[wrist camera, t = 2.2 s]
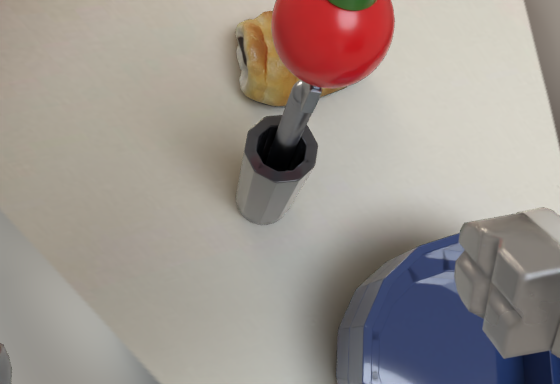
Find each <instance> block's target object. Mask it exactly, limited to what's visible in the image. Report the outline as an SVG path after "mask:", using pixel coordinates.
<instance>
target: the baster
mask: <svg viewBox="0 0 560 384" xmlns="http://www.w3.org/2000/svg"><path fill="white" fill-rule="evenodd" d="M394 22H395V18H394V10H393V5H392V2H391V0H276V2H275V5H274V9H273V13H272V20H271V32H272V39H273V43H274V47H275V50H276V52H277V54H278V56H279V58H280V60H281V61H282V63H283V64H284V66H285V67H286V68H287V69H288V70H289V71H290V72H291V73H292V74H293V75H294V76H295V77H297V78H298V79H300V80H299V81H297V82H296V83H295V84H294V85H293V87H292V90H291V92H290V95H289V98H288V101H287V104H286V107H285V110H284V112H283V115H282V118H281V121H280V124H279V127H278V130H277V132H276V135H275V138H274V141H273V144H272V147H271V150H270V152H269V155H268V158H267V161H266V164H265V165H266V166H268V167H270V168H272V169H274V170H276V171H278V172H280V171H286V168H287V166H288V164H289V162H290V160H291V158H292V155H293V153H294V151H295V149H296V147H297V144H298V142H299V140H300V138H301V136H302V133H303V131H304V129H305V127H306V125H307V122H308V120H309V118H310V116H311V114H312V113H313V111H314V109H315V106H316V104H317V102H318V100H319V98H320V96H321V93H322V88H329V89H333V88H342V87H346V86H349V85H353V84H355V83H357V82H359V81H361V80H362V79H364V78H366V77H367V76H368V75H370V74H371V73H372V72H373V71H374V70H375V69H376V68H377V67H378V66H379V64H380V63H381V62H382V60H383V59H384V57H385V56H386V54H387V52H388V50H389V47H390V45H391V42H392V38H393V33H394Z"/></svg>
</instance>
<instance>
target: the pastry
mask: <svg viewBox="0 0 560 384" xmlns="http://www.w3.org/2000/svg"><path fill="white" fill-rule="evenodd" d="M272 13H273V11H268V12H264V13H262V14H261V15H260V16H258V17H257V18H255V19H253V20H252V19H248V20H246V21H244V22H241V23H239V24H238V25H237V28H236V31H235V33H236V38H237V41H238V47H237V52H236V53H237V59H238V62H239V66H240V69H241V71H242V73H241V75H240V79H239V82H240V86H241V91H242V92H243V93H244V94H245V96H247V97H248V98H250V99H253V100H255V101H258V102H262V103H265V104H268V105H271V106H286V104H287V101H288V98H289V95H290V92H291V90H292V87H293V85H294V84H295V83H296V82H297V81H299V80H300V79H298V78H297V77H295V76H294V75H293V74H292V73H291V72H290V71H289V70H288V69H287V68H286V67H285V66H284V64H283V63H282V61H281V60H280V58H279V56H278V54H277V52H276V50H275V47H274V43H273V39H272V32H271V20H272ZM346 87H347V86H346ZM343 88H345V87H342V88H333V89H329V88H322V93H321V96H320V97H322V96H325V95H327V94H330V93H333V92H335V91H338V90H341V89H343Z"/></svg>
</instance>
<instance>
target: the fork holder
mask: <svg viewBox="0 0 560 384" xmlns="http://www.w3.org/2000/svg"><path fill="white" fill-rule="evenodd" d="M281 118H282V115H278V116H266V117H264V118H263V119H261V120H260V121H259V122H258V123H257V124H256V125H254V126H253V127H252V128H251V129H250V130H249V131H248V134H247V139H246V144H245V150H244V155H243V160H242V166H241V171H240V177H239V182H238V187H237V193H236V203H237V207H238V209H239V211H240V213H241V214H242V215H243V216H244V217H245V218H246V219H247V220H249V221H250V222H252V223H255V224H259V225H268V224H272V223H275V222H277V221H278V220H280V219H281V218H282V217H283V216H284V215H285V213H286V212H287V211H288V210H289V209H290V207H291V205H292V204H293V202H294V200H295V199H296V197H297V195H298V194H299V192H300V190H301V188H302V187H303V185H304V183H305V182H306V180H307V178H308V177H309V175H310V173H311V172H312V170H313V168H314V166H315V163H316V156H317V149H318V144H317V142H316V140H315V138H314V136H313V135H312V133H311V131H310V129H309V127H308V126H307V125H306V127H305V129H304V131H303V133H302V136H301V138H300V140H299V142H298V144H297V147H296V149H295V151H294V153H293V155H292V158H291V160H290V162H289V164H288V166H287V168H286V171H280V172H278V171H276V170H274V169H272V168H270V167H268V166H266V165H265V164H266V161H267V158H268V155H269V152H270V150H271V147H272V144H273V141H274V138H275V135H276V132H277V130H278V127H279V124H280V121H281Z"/></svg>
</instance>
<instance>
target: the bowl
mask: <svg viewBox="0 0 560 384" xmlns="http://www.w3.org/2000/svg"><path fill="white" fill-rule="evenodd" d="M459 235H460V233H458V234H455V235H452V236H449V237H445V238H442V239H439V240H436V241H433V242H430V243H427V244H423V245H420V246H418V247H416V248H414V249H412V250H410V251H407V252H405V253H403V254H401V255H399V256H397V257H395V258H393V259H391V260H389V261H387V262H385V263H384V264H383V265H382V266H381V267H380V268H379V269H377V270H376V271H375V272H374V273H373V274H372V275H371V276H370V277H369V278H368V279H367V280H365V281H364V282H363V283H362V284H361V285H360V286H359V287H358V288H357V289H356V290H355V292H354V295H353V297H352V299H351V301H350V304H349V306H348V308H347V310H346V312H345V315H344V317H343V319H342V321H341V324H340V326H339V328H338V341H337V367H336V379H337V382H338V384H560V358H559V357H557V356H555V355H554V354H552V353H551V350H549V351H544V352H538V353H533V354H528V355H522V356H517V357H511V358H506V359H504V358H503V357H502V356H501V354H500V353H499V352H498V350H497V349H496V347H495V346H494V345H493V343H492V342H491V341H490V339H489V338H488V337H487V335H486V334H485V333H484V331H483V330H482V329H483V321H484V319H483V318H481V317H479V316H477V315H475V314H473V313H471V312H469V311H468V309H467V308H466V306H465V305H464V303H463V302H462V300H461V298H460V296H459V294H458V292H457V288H456V283H455V278H454V273H455V262H456V260H457V259H458V258H459V257H460V255H461V254H462V253H463V252H464V251H465V249H464V248H463V247H462V246H461V244H460V243H459V242H458V241H459Z"/></svg>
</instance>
